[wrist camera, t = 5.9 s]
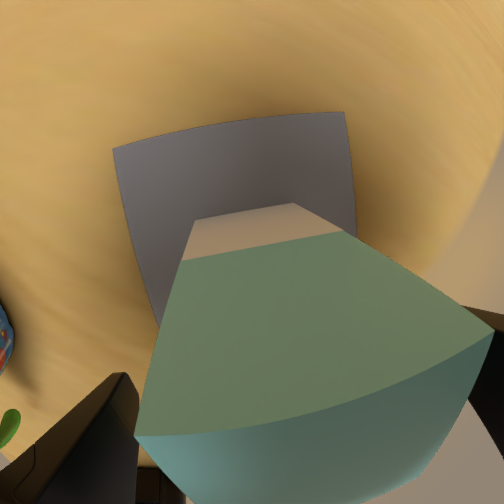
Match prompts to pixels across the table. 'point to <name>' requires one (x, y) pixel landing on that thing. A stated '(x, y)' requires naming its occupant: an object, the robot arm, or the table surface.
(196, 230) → the white block
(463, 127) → the table surface
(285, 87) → the table surface
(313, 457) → the teal block
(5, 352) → the snack cup
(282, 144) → the mat
